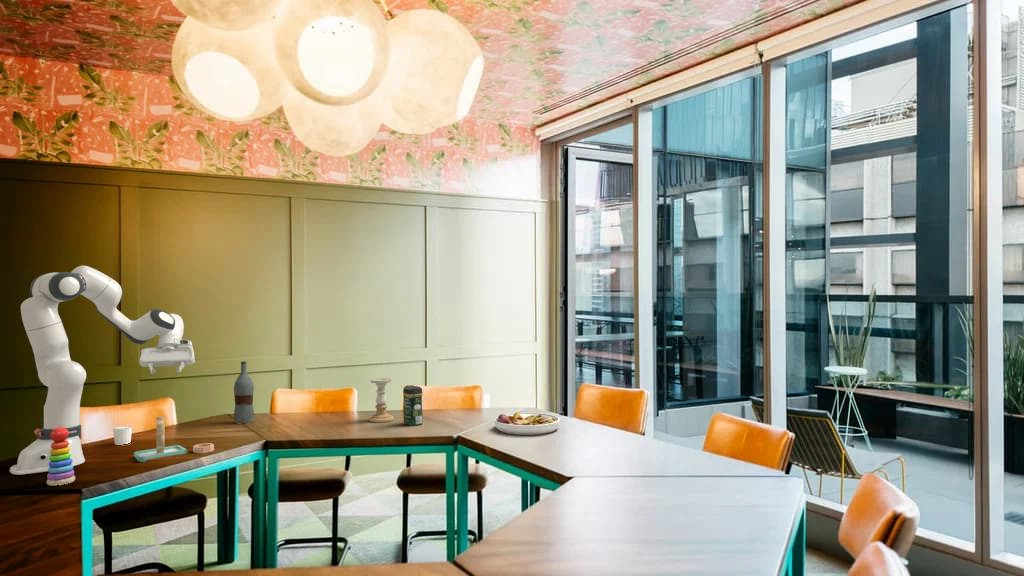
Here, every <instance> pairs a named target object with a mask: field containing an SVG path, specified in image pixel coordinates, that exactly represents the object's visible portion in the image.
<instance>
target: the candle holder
mask: <svg viewBox="0 0 1024 576" xmlns="http://www.w3.org/2000/svg"><path fill="white" fill-rule="evenodd" d="M392 382H393V379H392V378H373V379H370V383H371V384H375V386H376V387H377V390H376V391H375V392H376V394H377V395H376V399H375V403H376V405H375V406H374V408H375V409H376V413H375V414H373V415H372V416H370V417H369V418H368V422H369V423H375V424H376V423H378V424H381V423H382V424H384V423H389V422H393V421H394V420H395V418H394V416H393V415H391V414H389V413H387V408H388V405H387V402H388V400H387V397H386V393H387V390H386V389H385V387H386V386H387V384H389V383H392Z"/></svg>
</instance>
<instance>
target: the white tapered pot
mask: <svg viewBox="0 0 1024 576" xmlns="http://www.w3.org/2000/svg"><path fill="white" fill-rule="evenodd" d="M112 430H113V431H112V432H113V438H114V440H113V441H114V445H115V444H116V445H122V446H124V445H123V444H128V443H130V442H131V440H132V434H133V433H132V432H133V431H132V430H133V426H132V425H131V426H130V425H128V426H127V425H125V426H124V425H123V426H118V427H116V426H115V427H114V428H113V429H112ZM130 444H131V443H130ZM116 445H115V446H116ZM128 445H129V444H128Z"/></svg>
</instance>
